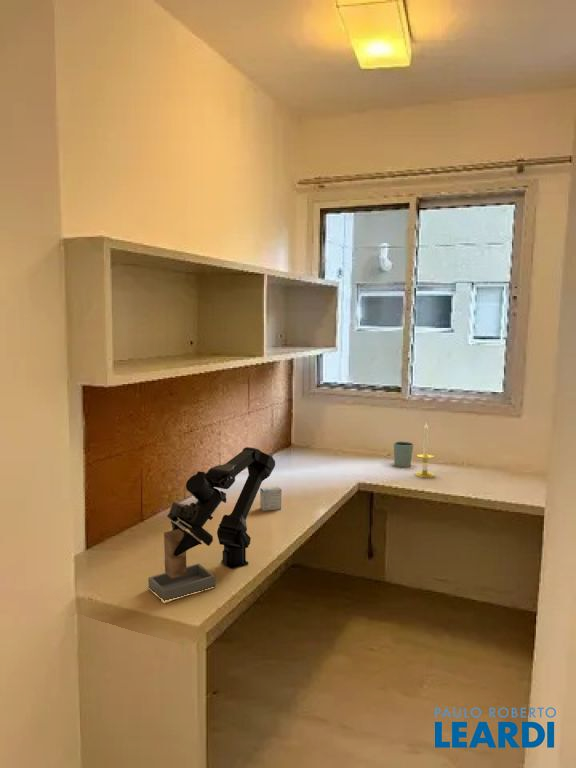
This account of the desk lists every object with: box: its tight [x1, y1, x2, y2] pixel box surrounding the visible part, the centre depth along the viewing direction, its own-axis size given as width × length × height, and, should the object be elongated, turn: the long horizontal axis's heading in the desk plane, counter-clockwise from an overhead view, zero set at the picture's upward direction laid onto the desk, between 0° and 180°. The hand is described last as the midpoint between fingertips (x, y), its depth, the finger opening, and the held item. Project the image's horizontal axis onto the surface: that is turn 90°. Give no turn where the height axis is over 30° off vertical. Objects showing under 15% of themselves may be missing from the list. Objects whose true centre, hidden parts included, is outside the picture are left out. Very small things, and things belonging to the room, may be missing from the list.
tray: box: [147, 563, 216, 601], centre depth 163 cm, size 16×10×4 cm, turn 127°
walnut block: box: [163, 529, 187, 579], centre depth 160 cm, size 4×4×12 cm
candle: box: [414, 422, 436, 479], centre depth 282 cm, size 10×10×27 cm
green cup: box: [393, 440, 414, 468], centre depth 301 cm, size 10×10×12 cm
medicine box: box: [259, 485, 282, 512], centre depth 231 cm, size 8×4×9 cm, turn 111°
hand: (170, 552), depth 160 cm, fingers closed on walnut block, 4 cm apart
